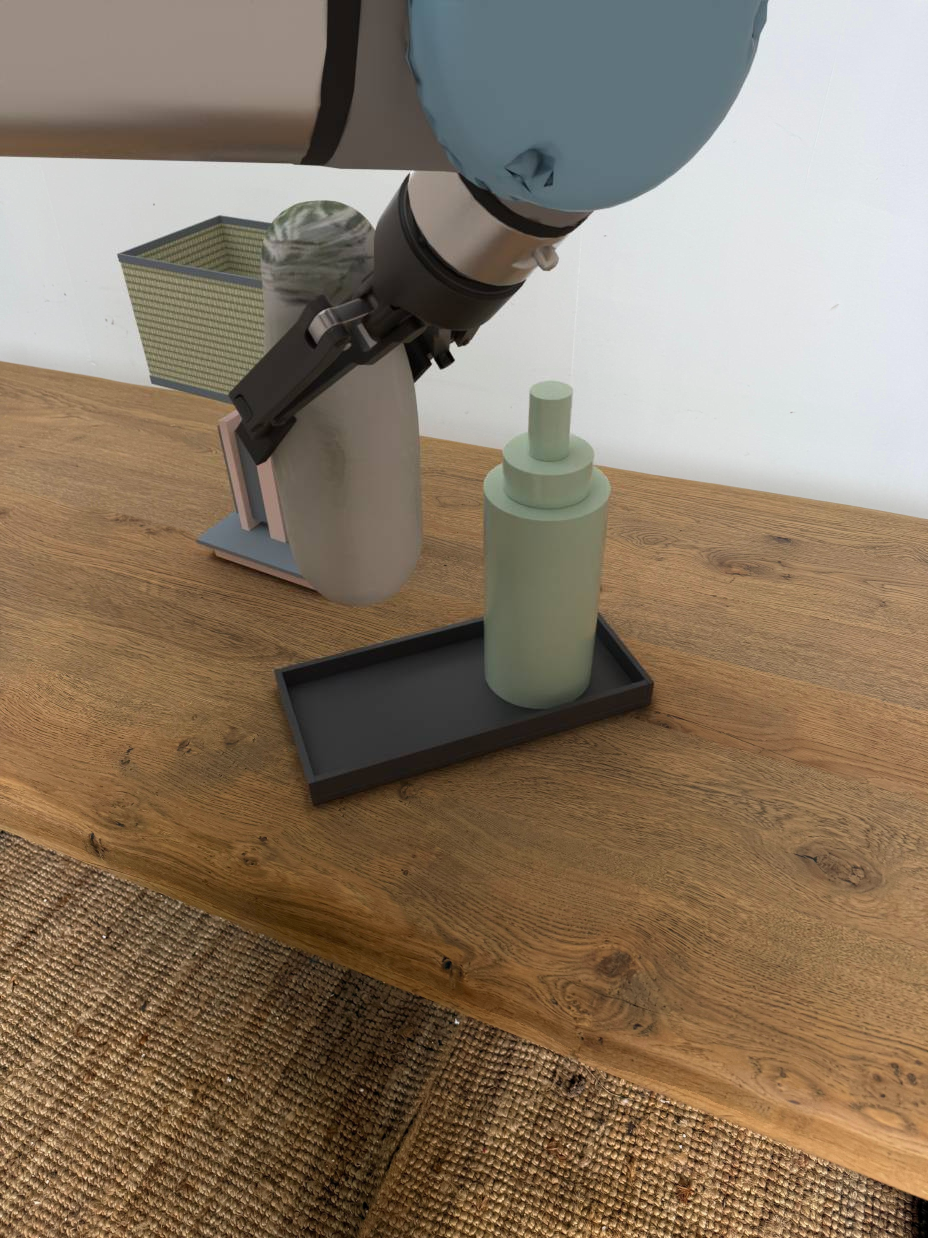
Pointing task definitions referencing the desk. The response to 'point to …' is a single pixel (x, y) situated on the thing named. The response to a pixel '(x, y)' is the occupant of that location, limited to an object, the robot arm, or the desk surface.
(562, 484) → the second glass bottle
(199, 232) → the woven storage basket
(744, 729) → the desk surface
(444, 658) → the tray
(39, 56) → the robot arm
